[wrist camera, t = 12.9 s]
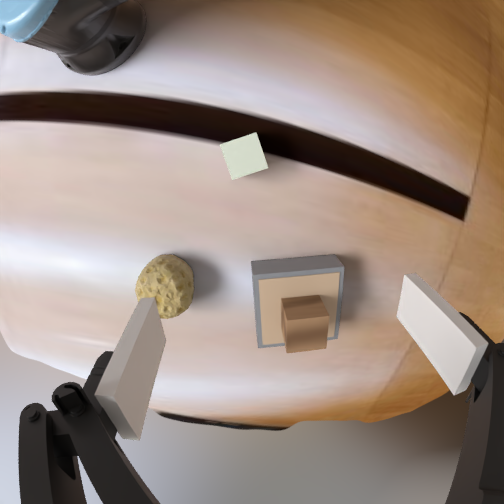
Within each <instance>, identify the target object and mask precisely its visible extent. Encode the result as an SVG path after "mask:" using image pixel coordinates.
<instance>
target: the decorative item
mask: <svg viewBox="0 0 504 504" xmlns="http://www.w3.org/2000/svg"><path fill="white" fill-rule="evenodd" d="M193 277H194V275H193V271H192V269H191V268H190V266H189V265H188V264H187V263H186V262H185V261H183V260H182V259H180V258H178V257H176V256H175V255H172V254H169V255H160V256H158V257H156V258H154V259H153V260H152V261H151V262H149V263H148V264H147V266H146V267H145V268H144V269H143V270H142V272H141V274H140V275H139V277H138V281H137V283H136V289H135V292H136V295H137V299H138V302H139V301H140V299H141V298H152V297H155V300H156V304H157V308H158V312H159V316H160V318H163V319H168V318H173V317H176V316H178V315H180V314H181V313H183V312H184V311H185V310H187V309H188V308H189V306H190V304H191V303H192V298H193V292H194V285H193V282H194V280H193Z"/></svg>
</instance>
